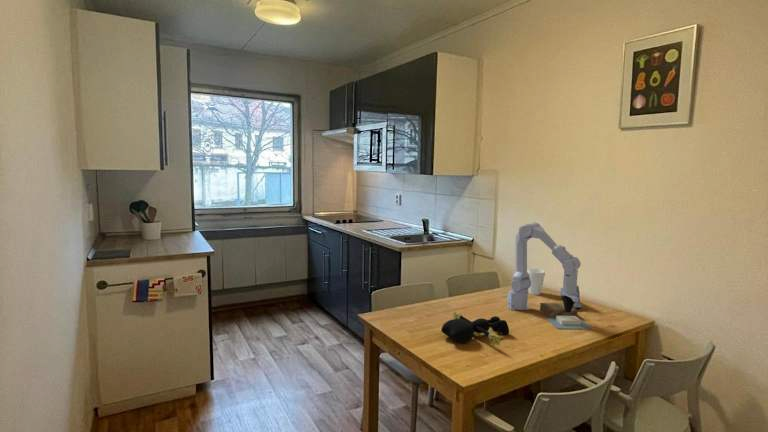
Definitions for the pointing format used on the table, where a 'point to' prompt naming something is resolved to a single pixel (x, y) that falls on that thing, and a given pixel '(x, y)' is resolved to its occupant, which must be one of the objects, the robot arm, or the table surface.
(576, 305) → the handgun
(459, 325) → the toy
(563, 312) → the brown flat block
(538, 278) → the foam cup
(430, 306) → the table surface
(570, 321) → the cream flat block
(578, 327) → the mat
